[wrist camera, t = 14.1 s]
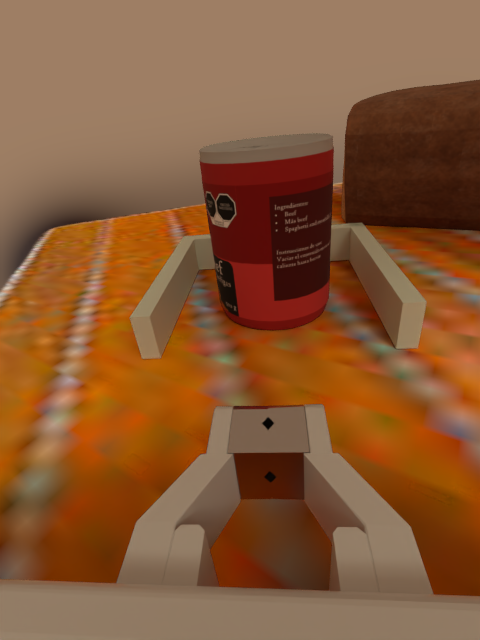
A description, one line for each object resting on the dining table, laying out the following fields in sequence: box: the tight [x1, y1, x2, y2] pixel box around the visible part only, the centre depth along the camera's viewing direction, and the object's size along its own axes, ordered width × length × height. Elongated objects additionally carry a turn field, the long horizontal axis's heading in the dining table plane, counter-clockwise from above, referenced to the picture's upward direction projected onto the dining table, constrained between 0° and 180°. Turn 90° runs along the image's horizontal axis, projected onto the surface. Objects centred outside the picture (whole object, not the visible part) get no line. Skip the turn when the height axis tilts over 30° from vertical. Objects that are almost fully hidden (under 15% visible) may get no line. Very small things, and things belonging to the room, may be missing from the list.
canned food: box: [199, 134, 334, 330], centre depth 24 cm, size 8×8×11 cm
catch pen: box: [130, 222, 427, 359], centre depth 27 cm, size 16×15×3 cm
